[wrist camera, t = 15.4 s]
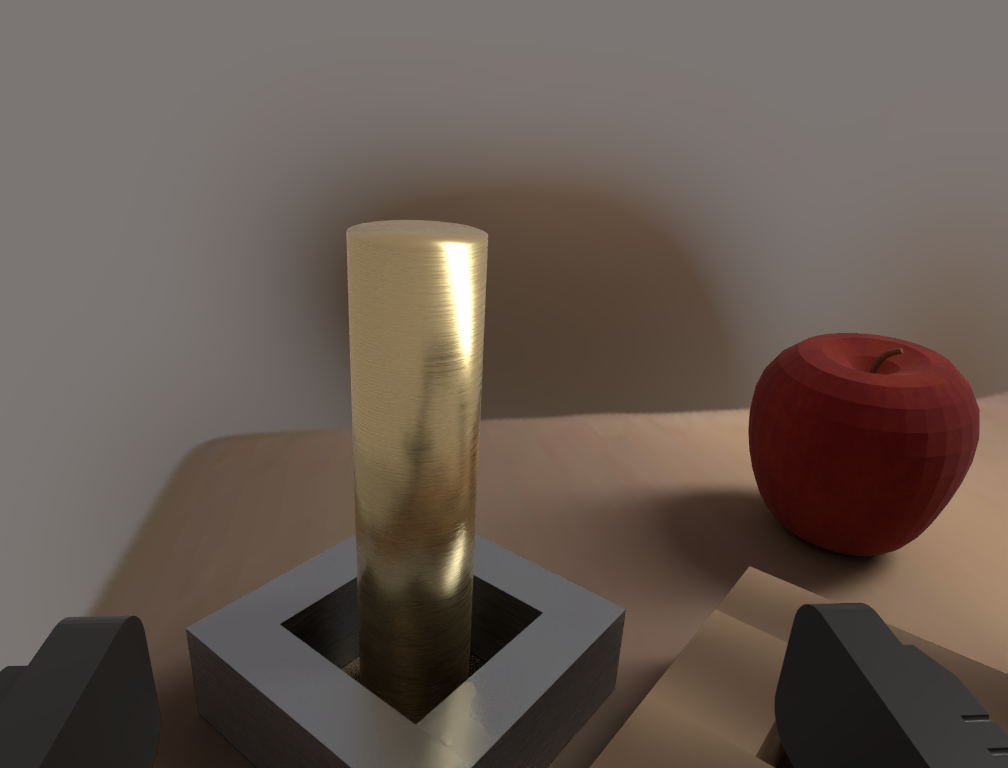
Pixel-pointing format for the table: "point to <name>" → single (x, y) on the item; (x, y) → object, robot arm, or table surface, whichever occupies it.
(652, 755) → the walnut block
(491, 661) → the grey steel socket block
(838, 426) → the apple
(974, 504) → the table surface
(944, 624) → the table surface
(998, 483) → the table surface
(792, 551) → the table surface
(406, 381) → the brass axle
